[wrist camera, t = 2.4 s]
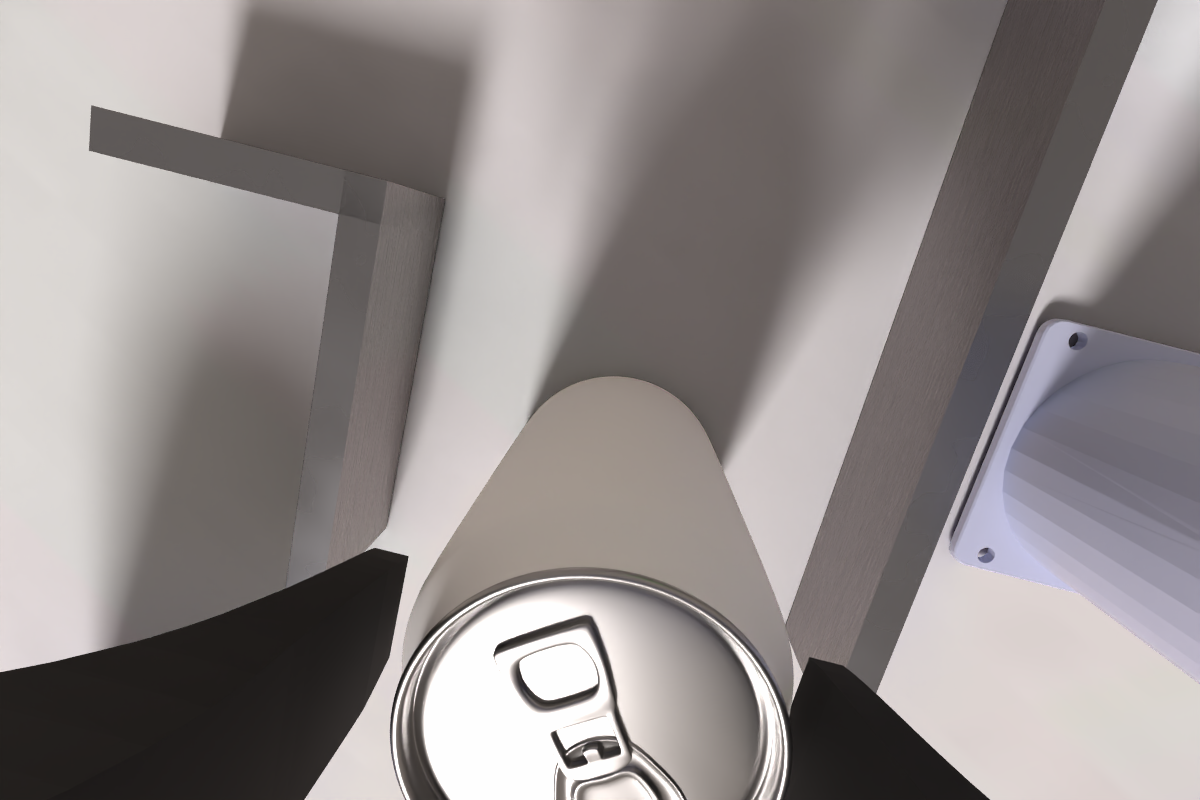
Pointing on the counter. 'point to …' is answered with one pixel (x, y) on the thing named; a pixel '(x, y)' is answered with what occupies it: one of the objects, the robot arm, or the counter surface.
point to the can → (598, 622)
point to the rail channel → (903, 377)
